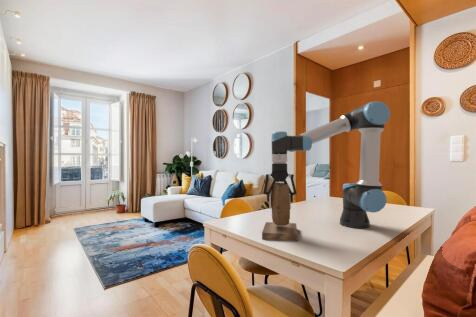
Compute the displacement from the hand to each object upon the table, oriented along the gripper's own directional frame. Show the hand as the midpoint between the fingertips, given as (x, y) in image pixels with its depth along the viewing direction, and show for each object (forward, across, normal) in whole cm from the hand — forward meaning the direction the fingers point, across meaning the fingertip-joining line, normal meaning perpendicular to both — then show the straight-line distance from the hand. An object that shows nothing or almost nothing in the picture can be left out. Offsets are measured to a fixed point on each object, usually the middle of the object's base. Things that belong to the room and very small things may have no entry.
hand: (279, 208), depth 123 cm
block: (+8, 0, 0) cm, 8 cm away
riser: (+13, 0, 0) cm, 13 cm away
